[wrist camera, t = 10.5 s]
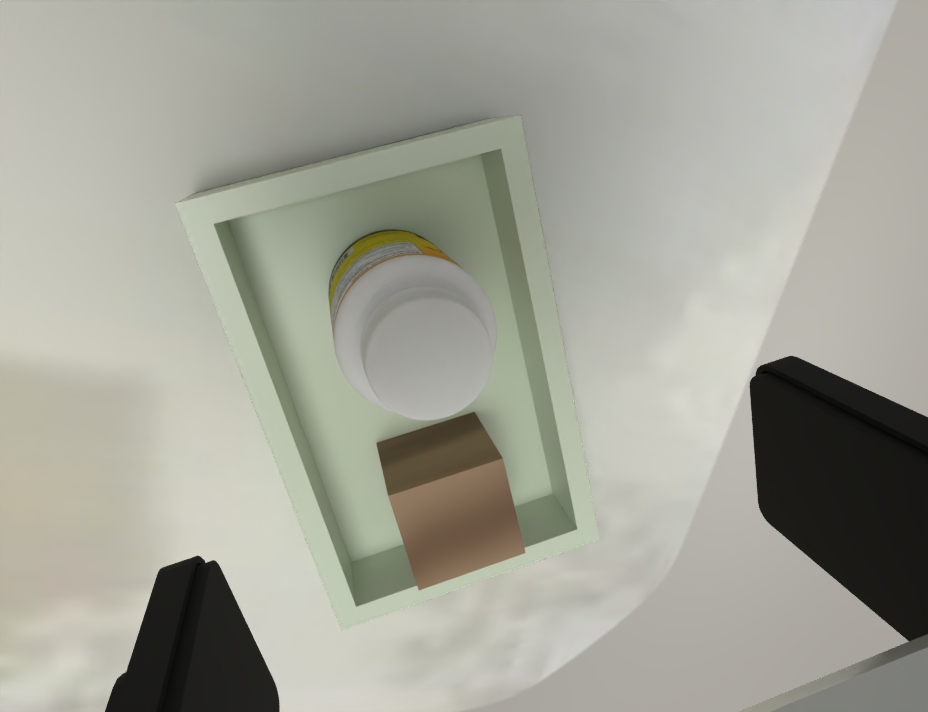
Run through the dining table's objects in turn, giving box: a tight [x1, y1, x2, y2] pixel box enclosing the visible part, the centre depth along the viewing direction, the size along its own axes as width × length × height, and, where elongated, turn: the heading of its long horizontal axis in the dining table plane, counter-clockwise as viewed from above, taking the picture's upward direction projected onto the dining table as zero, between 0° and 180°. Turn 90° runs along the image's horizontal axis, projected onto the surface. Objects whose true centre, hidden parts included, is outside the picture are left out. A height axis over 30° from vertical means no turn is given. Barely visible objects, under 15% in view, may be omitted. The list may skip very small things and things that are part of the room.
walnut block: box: [376, 412, 526, 590], centre depth 30 cm, size 5×5×5 cm
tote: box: [175, 115, 600, 631], centre depth 29 cm, size 20×13×4 cm, turn 13°
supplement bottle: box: [328, 229, 497, 420], centre depth 24 cm, size 6×6×10 cm
